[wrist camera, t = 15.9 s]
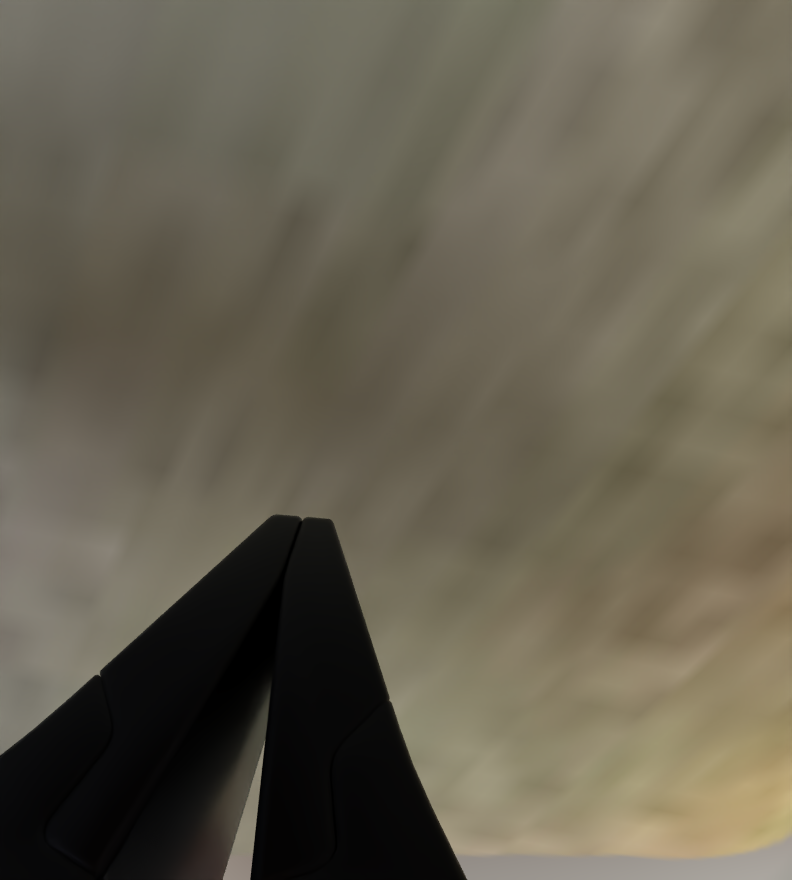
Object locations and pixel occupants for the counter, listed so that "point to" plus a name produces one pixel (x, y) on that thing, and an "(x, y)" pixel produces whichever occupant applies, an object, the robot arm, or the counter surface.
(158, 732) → the robot arm
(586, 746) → the counter surface
